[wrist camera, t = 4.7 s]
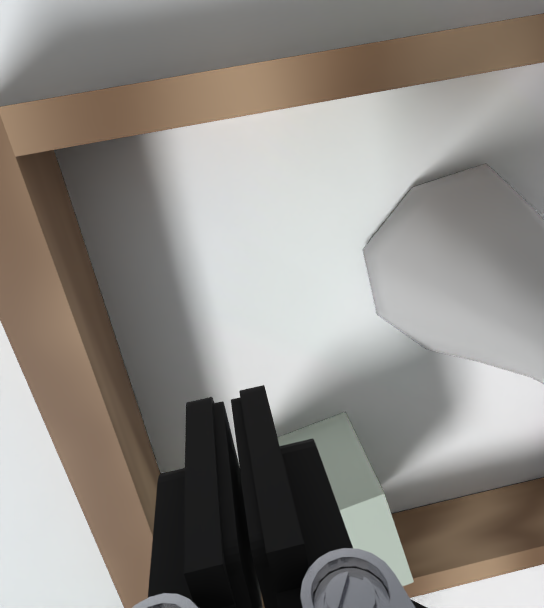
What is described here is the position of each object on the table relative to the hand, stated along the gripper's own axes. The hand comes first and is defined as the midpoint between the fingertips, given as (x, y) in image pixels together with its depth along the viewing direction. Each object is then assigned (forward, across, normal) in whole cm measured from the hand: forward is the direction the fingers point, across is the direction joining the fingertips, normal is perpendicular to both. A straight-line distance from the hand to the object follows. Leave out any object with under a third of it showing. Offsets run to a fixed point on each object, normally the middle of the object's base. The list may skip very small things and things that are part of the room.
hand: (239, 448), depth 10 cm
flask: (+9, -9, +1) cm, 13 cm away
